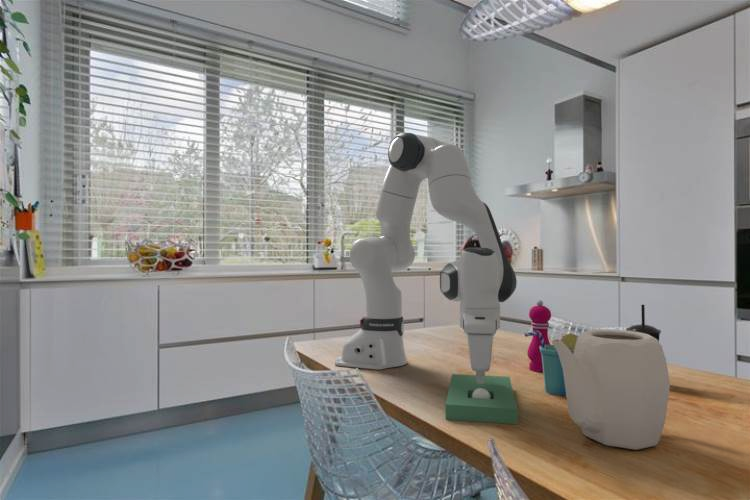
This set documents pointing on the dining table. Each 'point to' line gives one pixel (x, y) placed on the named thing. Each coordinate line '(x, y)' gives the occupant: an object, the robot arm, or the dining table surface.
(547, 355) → the cup
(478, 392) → the ball
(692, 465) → the dining table surface
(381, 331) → the robot arm
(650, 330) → the drinking cup
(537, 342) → the pepper mill
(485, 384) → the putting mat
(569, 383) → the watering can
